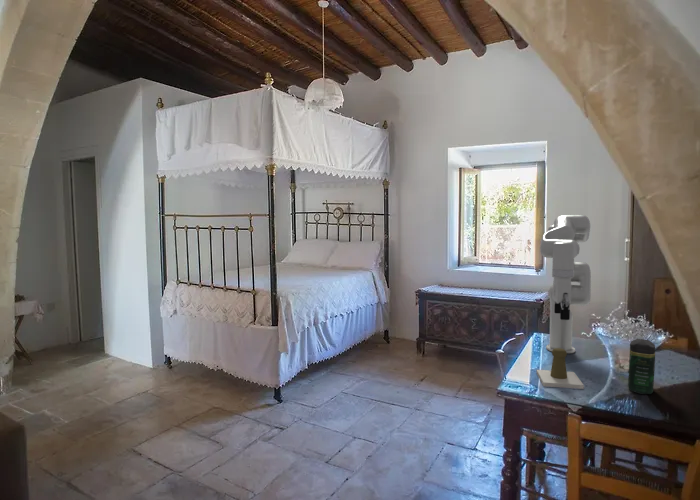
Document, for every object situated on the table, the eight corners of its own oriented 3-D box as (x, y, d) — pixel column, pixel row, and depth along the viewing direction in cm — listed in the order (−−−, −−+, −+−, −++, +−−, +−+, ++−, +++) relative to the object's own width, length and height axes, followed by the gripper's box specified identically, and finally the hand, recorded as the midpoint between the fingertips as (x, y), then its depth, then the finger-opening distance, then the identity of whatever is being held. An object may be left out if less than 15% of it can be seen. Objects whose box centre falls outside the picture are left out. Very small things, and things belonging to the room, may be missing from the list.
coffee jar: (653, 397, 156) (656, 345, 155) (627, 392, 161) (629, 342, 159) (653, 388, 164) (655, 339, 163) (628, 383, 169) (630, 336, 167)
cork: (569, 379, 170) (569, 351, 169) (552, 378, 171) (552, 350, 170) (565, 374, 175) (565, 346, 175) (548, 372, 177) (549, 346, 176)
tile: (536, 373, 181) (536, 369, 181) (573, 375, 178) (573, 371, 178) (543, 386, 167) (543, 382, 167) (583, 389, 164) (583, 385, 164)
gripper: (547, 269, 181) (546, 310, 183) (557, 277, 164) (556, 321, 166) (567, 270, 179) (566, 311, 181) (579, 277, 163) (578, 322, 164)
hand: (561, 316), depth 174 cm, fingers open, 9 cm apart
